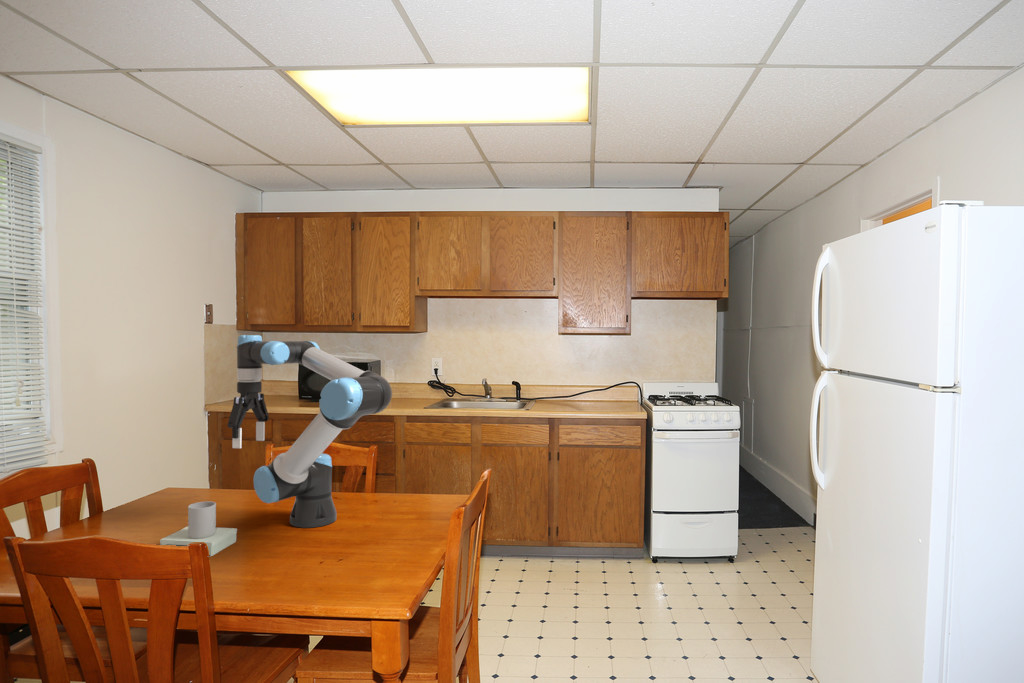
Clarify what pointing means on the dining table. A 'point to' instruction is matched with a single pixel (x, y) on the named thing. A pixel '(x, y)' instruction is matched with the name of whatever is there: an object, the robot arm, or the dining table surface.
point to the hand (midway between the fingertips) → (249, 444)
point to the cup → (201, 519)
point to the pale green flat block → (203, 539)
